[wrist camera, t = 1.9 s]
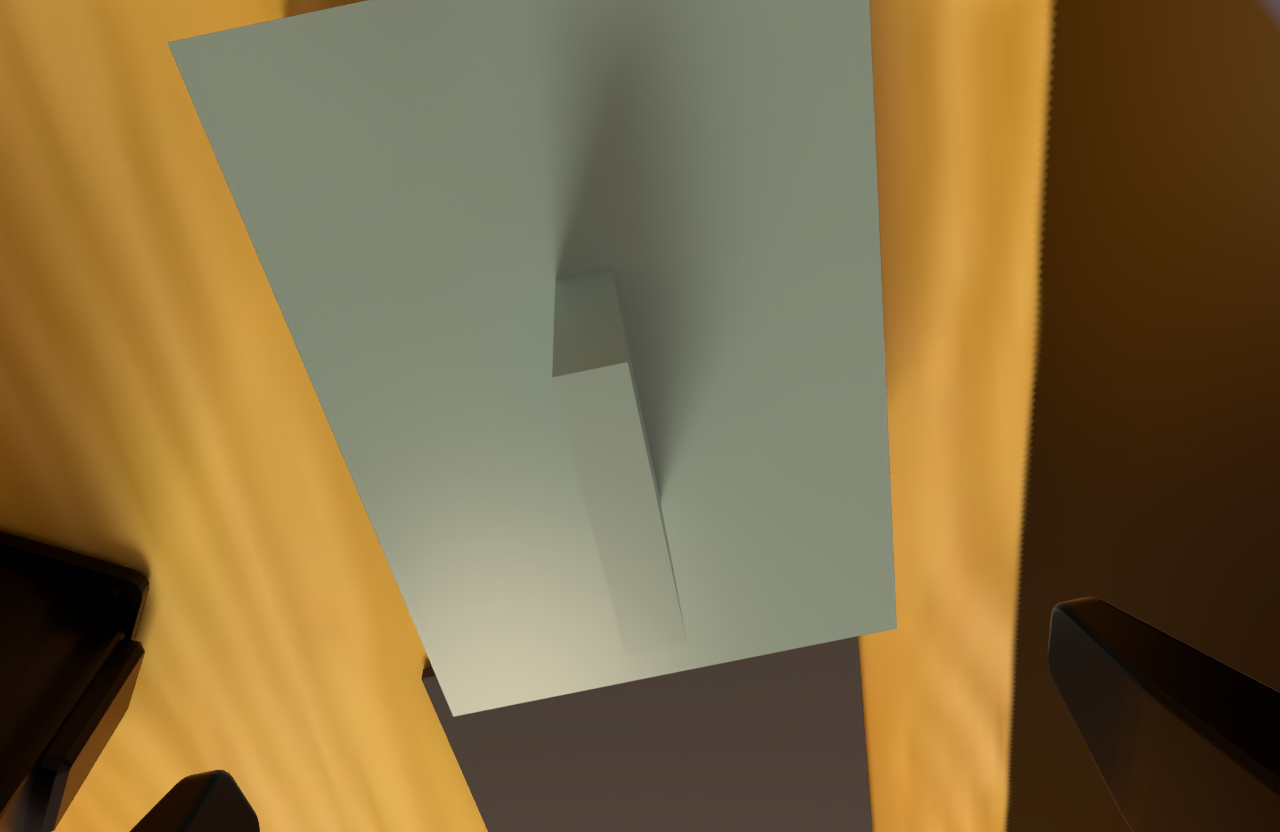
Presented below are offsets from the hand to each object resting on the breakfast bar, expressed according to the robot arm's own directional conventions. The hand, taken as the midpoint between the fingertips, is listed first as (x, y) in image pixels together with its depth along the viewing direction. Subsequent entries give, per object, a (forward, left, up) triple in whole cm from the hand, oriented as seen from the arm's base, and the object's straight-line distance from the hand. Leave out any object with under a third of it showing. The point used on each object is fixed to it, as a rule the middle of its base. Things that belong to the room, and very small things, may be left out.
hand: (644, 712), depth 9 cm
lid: (0, 0, -9) cm, 9 cm away
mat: (+10, -15, -12) cm, 22 cm away
